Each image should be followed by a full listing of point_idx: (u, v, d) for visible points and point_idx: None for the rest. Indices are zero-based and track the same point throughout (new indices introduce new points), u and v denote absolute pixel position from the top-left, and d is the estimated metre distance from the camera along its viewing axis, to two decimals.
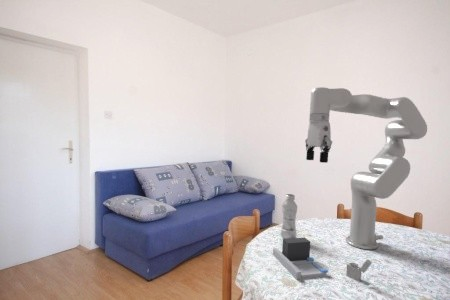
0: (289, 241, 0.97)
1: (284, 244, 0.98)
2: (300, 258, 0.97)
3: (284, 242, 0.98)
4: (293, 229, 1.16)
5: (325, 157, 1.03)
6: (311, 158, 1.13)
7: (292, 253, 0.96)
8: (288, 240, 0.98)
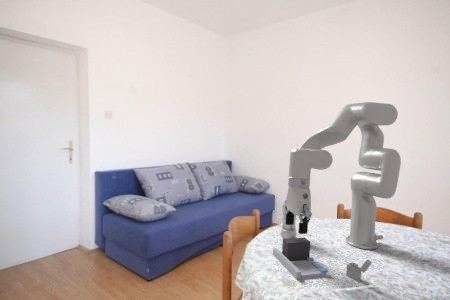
0: (289, 241, 0.97)
1: (284, 244, 0.98)
2: (300, 258, 0.97)
3: (284, 242, 0.98)
4: (293, 229, 1.16)
5: (304, 228, 0.92)
6: (291, 223, 1.02)
7: (292, 253, 0.96)
8: (288, 240, 0.98)
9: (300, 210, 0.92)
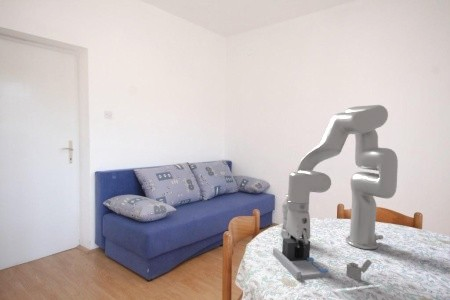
0: (289, 241, 0.97)
1: (284, 244, 0.98)
2: (300, 258, 0.97)
3: (284, 242, 0.98)
4: None
5: (300, 253, 0.95)
6: None
7: (292, 253, 0.96)
8: (288, 240, 0.98)
9: (300, 235, 0.93)
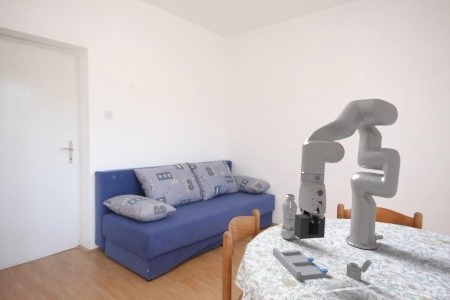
0: (302, 216, 0.89)
1: (296, 220, 0.89)
2: (314, 235, 0.88)
3: (296, 218, 0.89)
4: (293, 229, 1.16)
5: (315, 229, 0.87)
6: None
7: (306, 229, 0.87)
8: (301, 215, 0.89)
9: (315, 208, 0.84)
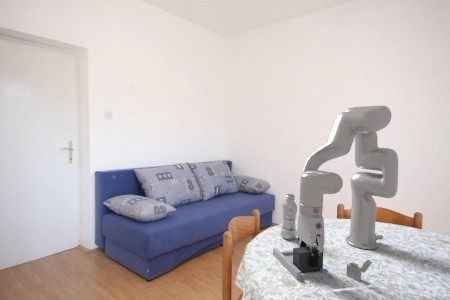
0: (300, 250, 0.89)
1: (295, 254, 0.90)
2: (313, 269, 0.89)
3: (295, 252, 0.90)
4: (293, 229, 1.16)
5: (315, 261, 0.86)
6: None
7: (304, 264, 0.88)
8: (299, 249, 0.90)
9: (313, 241, 0.85)
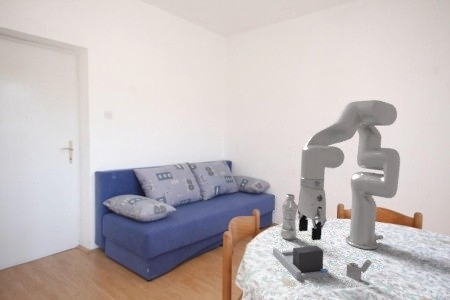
0: (300, 250, 0.89)
1: (295, 254, 0.90)
2: (313, 269, 0.89)
3: (295, 252, 0.90)
4: (293, 229, 1.16)
5: (318, 234, 0.85)
6: (304, 229, 0.94)
7: (304, 264, 0.88)
8: (299, 249, 0.90)
9: (314, 213, 0.84)
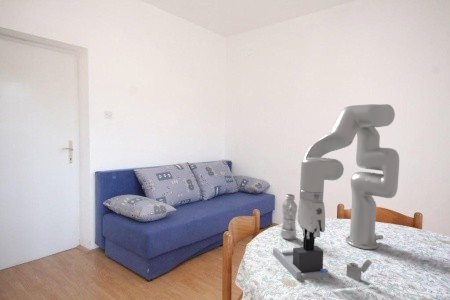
0: (300, 250, 0.89)
1: (295, 254, 0.90)
2: (313, 269, 0.89)
3: (295, 252, 0.90)
4: (293, 229, 1.16)
5: (311, 245, 0.89)
6: None
7: (304, 264, 0.88)
8: (299, 249, 0.90)
9: (314, 226, 0.85)
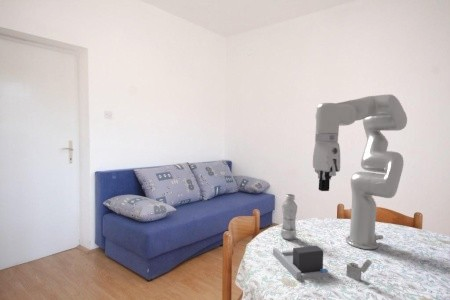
0: (300, 250, 0.89)
1: (295, 254, 0.90)
2: (313, 269, 0.89)
3: (295, 252, 0.90)
4: (293, 229, 1.16)
5: (326, 185, 0.93)
6: None
7: (304, 264, 0.88)
8: (299, 249, 0.90)
9: (330, 165, 0.89)
